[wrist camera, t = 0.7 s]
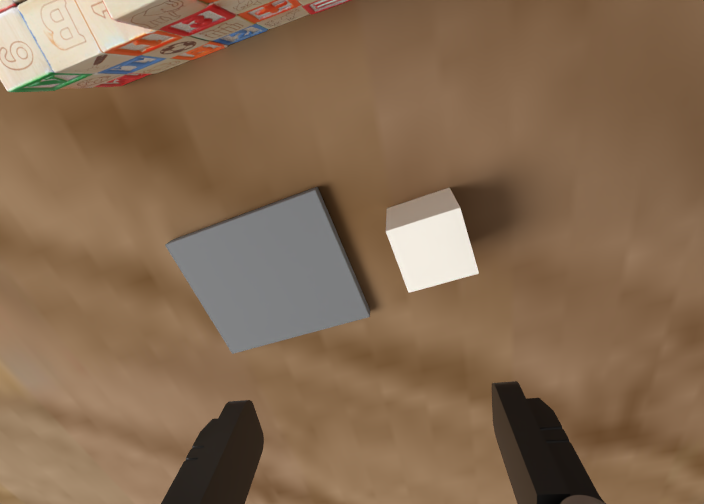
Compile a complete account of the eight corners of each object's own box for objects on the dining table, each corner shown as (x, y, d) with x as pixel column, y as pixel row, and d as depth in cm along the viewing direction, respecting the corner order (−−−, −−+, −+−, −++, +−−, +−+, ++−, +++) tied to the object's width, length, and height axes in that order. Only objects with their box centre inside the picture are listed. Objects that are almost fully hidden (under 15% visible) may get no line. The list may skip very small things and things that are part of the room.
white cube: (449, 187, 28) (460, 207, 24) (465, 244, 30) (478, 273, 26) (386, 208, 30) (385, 231, 25) (406, 262, 31) (408, 292, 27)
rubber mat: (317, 186, 29) (315, 189, 28) (370, 310, 33) (369, 316, 33) (171, 240, 32) (165, 244, 32) (236, 346, 37) (232, 353, 36)
